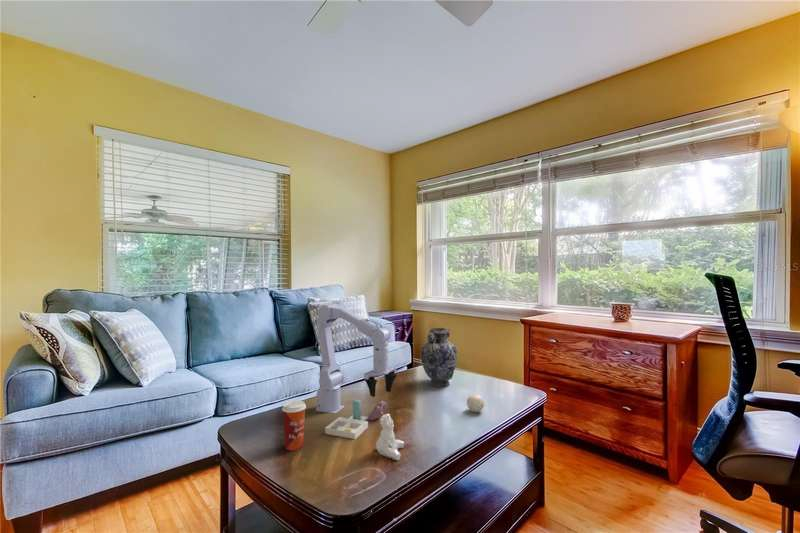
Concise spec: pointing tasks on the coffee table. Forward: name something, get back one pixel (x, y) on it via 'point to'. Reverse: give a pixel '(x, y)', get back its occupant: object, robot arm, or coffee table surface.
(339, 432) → the socket board
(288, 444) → the paper cup
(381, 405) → the video game controller
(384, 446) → the white creature statuette
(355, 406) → the plug
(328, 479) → the coffee table surface
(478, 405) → the baseball
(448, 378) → the decorative vase
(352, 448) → the coffee table surface
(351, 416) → the mat
